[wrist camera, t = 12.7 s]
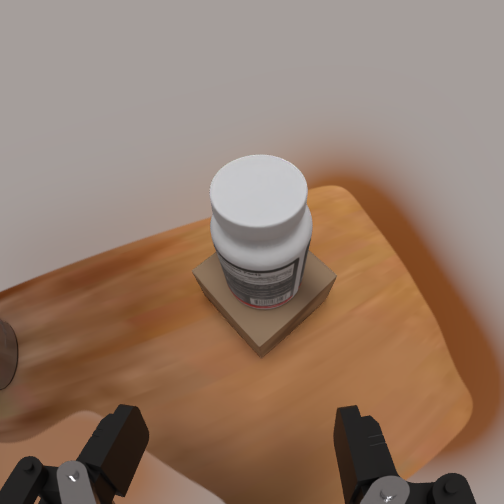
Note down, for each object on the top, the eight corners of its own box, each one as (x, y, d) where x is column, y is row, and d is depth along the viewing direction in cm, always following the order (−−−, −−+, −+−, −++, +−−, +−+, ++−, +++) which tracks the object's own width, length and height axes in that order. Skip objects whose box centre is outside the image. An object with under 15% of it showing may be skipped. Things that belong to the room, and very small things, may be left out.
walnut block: (261, 358, 24) (259, 347, 19) (204, 294, 27) (191, 270, 23) (326, 298, 26) (337, 275, 22) (267, 244, 29) (266, 213, 25)
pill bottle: (255, 232, 24) (246, 134, 16) (315, 266, 22) (339, 173, 14) (211, 285, 22) (175, 200, 13) (274, 326, 20) (278, 259, 11)
